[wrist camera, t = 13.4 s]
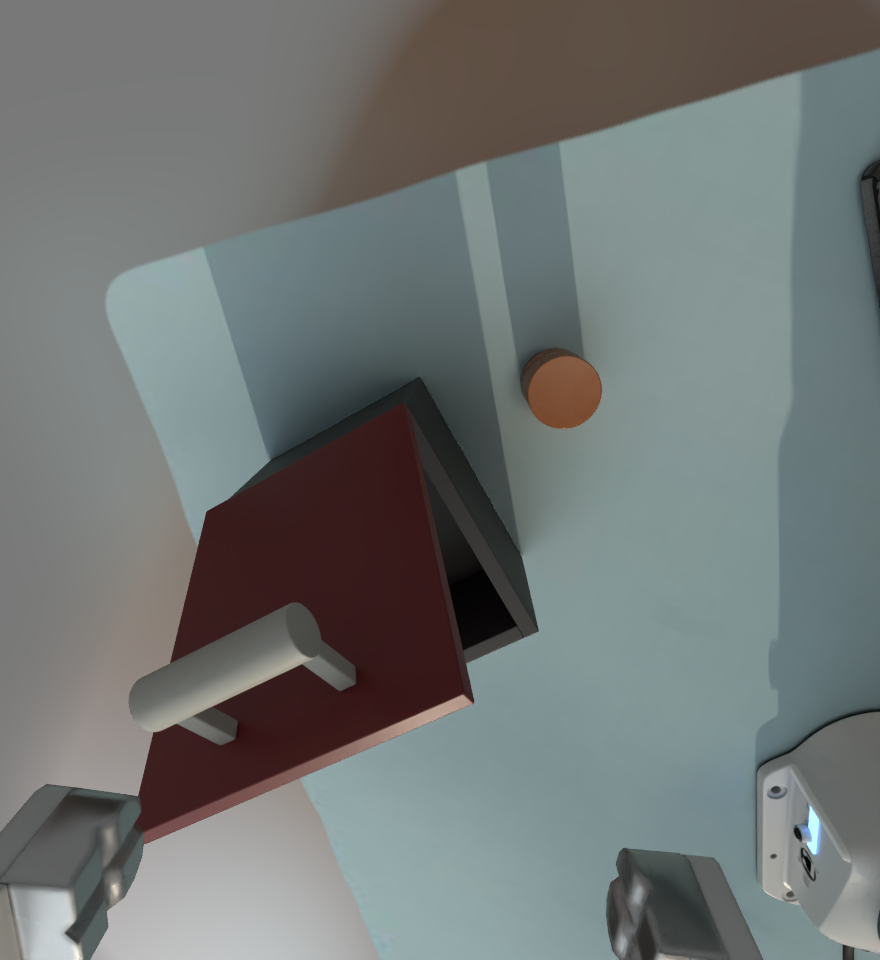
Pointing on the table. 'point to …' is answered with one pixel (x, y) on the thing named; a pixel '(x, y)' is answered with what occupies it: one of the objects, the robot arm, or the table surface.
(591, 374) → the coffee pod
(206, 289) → the table surface
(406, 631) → the lid
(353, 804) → the table surface
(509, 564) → the dark grey box
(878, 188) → the phone
